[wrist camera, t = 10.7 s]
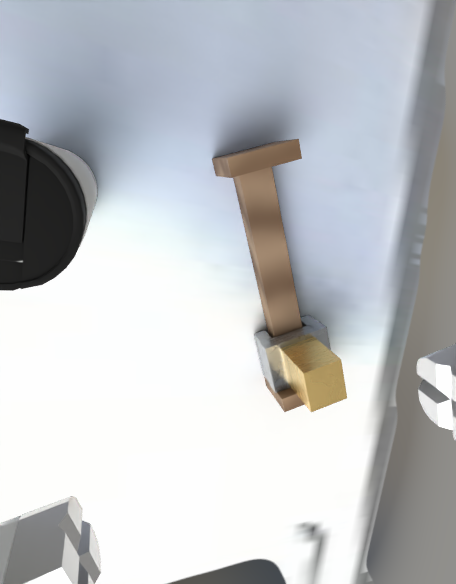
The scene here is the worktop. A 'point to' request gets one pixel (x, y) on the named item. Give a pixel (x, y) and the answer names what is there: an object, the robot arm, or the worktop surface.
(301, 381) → the slider
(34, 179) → the travel mug
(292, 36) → the worktop surface
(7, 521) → the robot arm
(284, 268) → the rail
